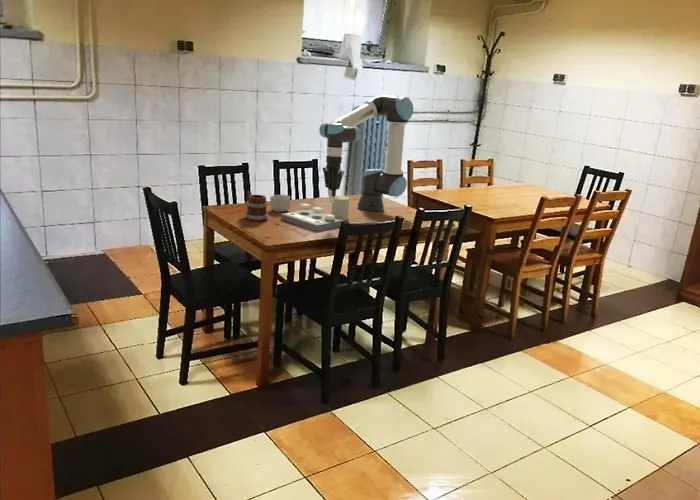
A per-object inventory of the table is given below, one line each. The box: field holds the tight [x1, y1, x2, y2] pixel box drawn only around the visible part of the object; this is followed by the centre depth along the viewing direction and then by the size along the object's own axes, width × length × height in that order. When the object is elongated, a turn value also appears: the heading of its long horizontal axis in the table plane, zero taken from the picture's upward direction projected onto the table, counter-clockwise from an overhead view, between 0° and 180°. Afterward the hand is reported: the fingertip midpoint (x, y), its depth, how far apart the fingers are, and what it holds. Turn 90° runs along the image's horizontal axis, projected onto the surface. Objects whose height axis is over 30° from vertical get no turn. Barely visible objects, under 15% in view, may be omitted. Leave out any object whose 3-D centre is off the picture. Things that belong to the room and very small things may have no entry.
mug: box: [244, 190, 269, 223], centre depth 301 cm, size 12×14×15 cm
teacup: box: [269, 194, 291, 213], centre depth 323 cm, size 14×11×8 cm
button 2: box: [325, 213, 335, 221], centre depth 300 cm, size 5×5×2 cm
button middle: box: [312, 206, 323, 213], centre depth 305 cm, size 5×5×2 cm
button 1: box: [300, 203, 311, 210], centre depth 310 cm, size 5×5×2 cm
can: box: [330, 195, 350, 221], centre depth 314 cm, size 9×9×12 cm
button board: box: [280, 208, 346, 232], centre depth 304 cm, size 20×26×3 cm
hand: (331, 202), depth 298 cm, fingers closed
